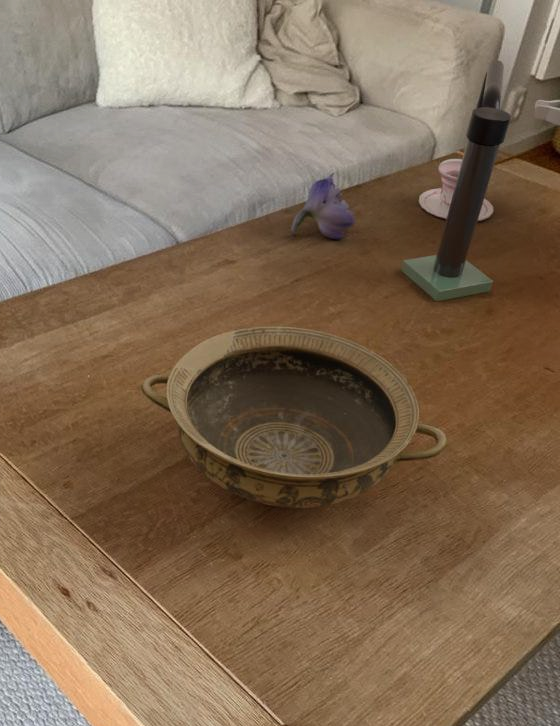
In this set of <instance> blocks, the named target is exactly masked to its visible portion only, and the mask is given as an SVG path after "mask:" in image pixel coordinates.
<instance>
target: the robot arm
mask: <svg viewBox="0 0 560 726" xmlns="http://www.w3.org/2000/svg"><path fill="white" fill-rule="evenodd" d="M533 118H534V119H535V120H536V119H537V120H542V121H546V122H548V123H550V124H553V125H555V126H559V127H560V99H554V100H543V99H538V100H536V101H535V104H534V107H533Z"/></svg>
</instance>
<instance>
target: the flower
mask: <svg viewBox="0 0 560 726" xmlns="http://www.w3.org/2000/svg"><path fill="white" fill-rule="evenodd" d="M335 173H336V172H333V173H330V174H329V175H328V176H327V177H325V178H323V179H319V180H316V181H314V183H312V184H311V186H310V189H309V191H308V196H307V199H306V202H305V204H304V206H303V207H302V209H301V210H300V211H298V212H297V214H296V215H295V217H294V219H293V221H292V224H291V228H290V233H291V235H293V236H296V234H297V232H298V229H299V228H300V226H301V225H302V223H304V221H305V219H307V218H308V217H309V218H311V219H312V220H314V222H315V223H316V224H317V228H318V229H319V232H320V233H321V235H323V236H324V237H326V238H328V239H331V240H339V241H340V240H342V239H344V237H345V235H343V234H344V233H345V232H347V231H348V230H349V229H351V228H352V227H353V226H355V216H354V213H353V210H349V207H350V204H349V203H347V202H346V200H345V199H342V200H341V201H340V199H341V197H342V192H340V191H341V190H340V188H337V187H336V184H335V183H334V178H333V177H334V175H335Z"/></svg>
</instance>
